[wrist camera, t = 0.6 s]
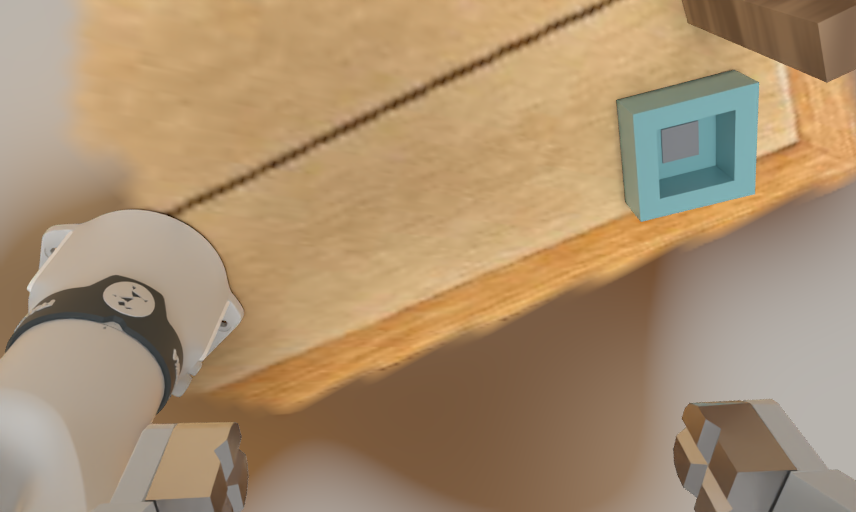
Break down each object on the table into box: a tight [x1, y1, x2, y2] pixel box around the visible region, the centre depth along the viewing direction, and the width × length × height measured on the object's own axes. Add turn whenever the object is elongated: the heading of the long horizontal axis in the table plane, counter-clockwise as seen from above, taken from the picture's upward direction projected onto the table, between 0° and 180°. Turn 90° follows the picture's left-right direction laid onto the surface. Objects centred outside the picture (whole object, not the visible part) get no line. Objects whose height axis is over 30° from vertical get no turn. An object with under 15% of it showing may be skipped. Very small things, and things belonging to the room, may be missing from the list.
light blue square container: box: [616, 70, 759, 222], centre depth 53 cm, size 10×10×4 cm
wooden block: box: [682, 0, 856, 82], centre depth 40 cm, size 4×4×18 cm
